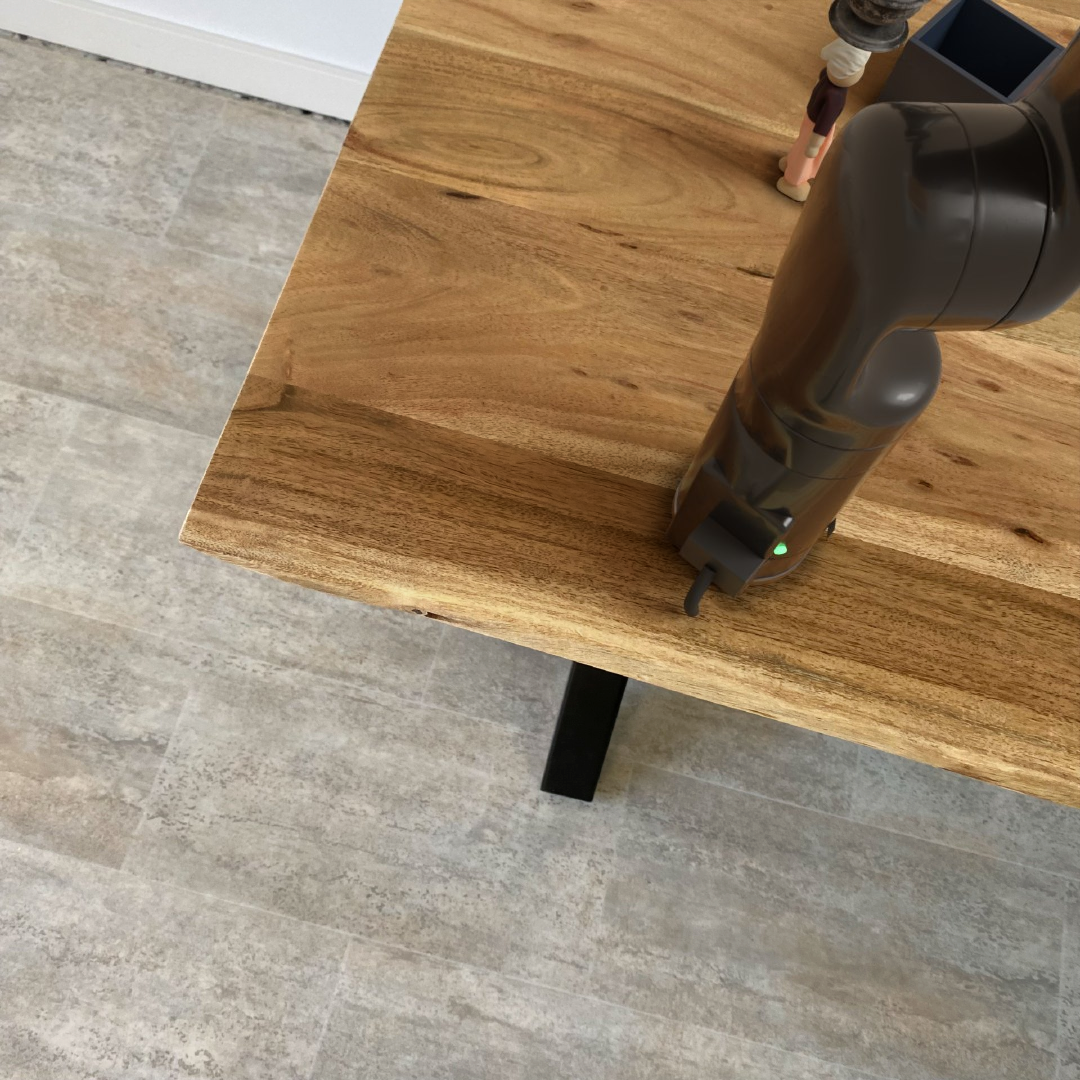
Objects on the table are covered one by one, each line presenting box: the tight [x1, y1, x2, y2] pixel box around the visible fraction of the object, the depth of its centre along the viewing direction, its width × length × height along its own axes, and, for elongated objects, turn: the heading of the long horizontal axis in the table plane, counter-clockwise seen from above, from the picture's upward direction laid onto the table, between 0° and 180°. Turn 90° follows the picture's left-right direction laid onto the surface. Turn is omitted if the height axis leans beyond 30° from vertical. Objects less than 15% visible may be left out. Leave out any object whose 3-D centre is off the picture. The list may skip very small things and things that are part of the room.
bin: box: [874, 0, 1066, 104], centre depth 88 cm, size 9×9×7 cm
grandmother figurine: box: [776, 37, 872, 202], centre depth 79 cm, size 8×4×13 cm, turn 179°
